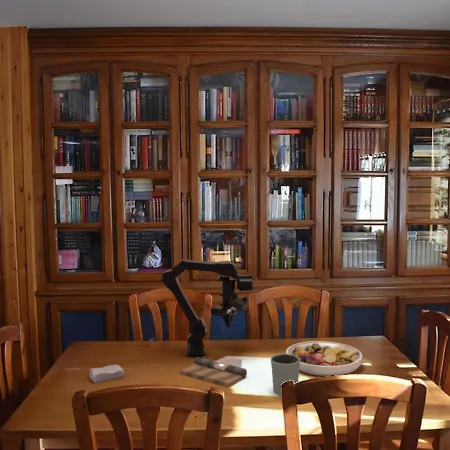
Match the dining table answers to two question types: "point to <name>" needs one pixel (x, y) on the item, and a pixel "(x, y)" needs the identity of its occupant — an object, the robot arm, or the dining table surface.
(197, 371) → the striped wooden board
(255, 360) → the dining table surface
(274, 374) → the gray green cup
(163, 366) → the dining table surface
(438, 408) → the dining table surface
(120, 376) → the stone block
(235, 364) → the pale pink block
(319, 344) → the bowl
